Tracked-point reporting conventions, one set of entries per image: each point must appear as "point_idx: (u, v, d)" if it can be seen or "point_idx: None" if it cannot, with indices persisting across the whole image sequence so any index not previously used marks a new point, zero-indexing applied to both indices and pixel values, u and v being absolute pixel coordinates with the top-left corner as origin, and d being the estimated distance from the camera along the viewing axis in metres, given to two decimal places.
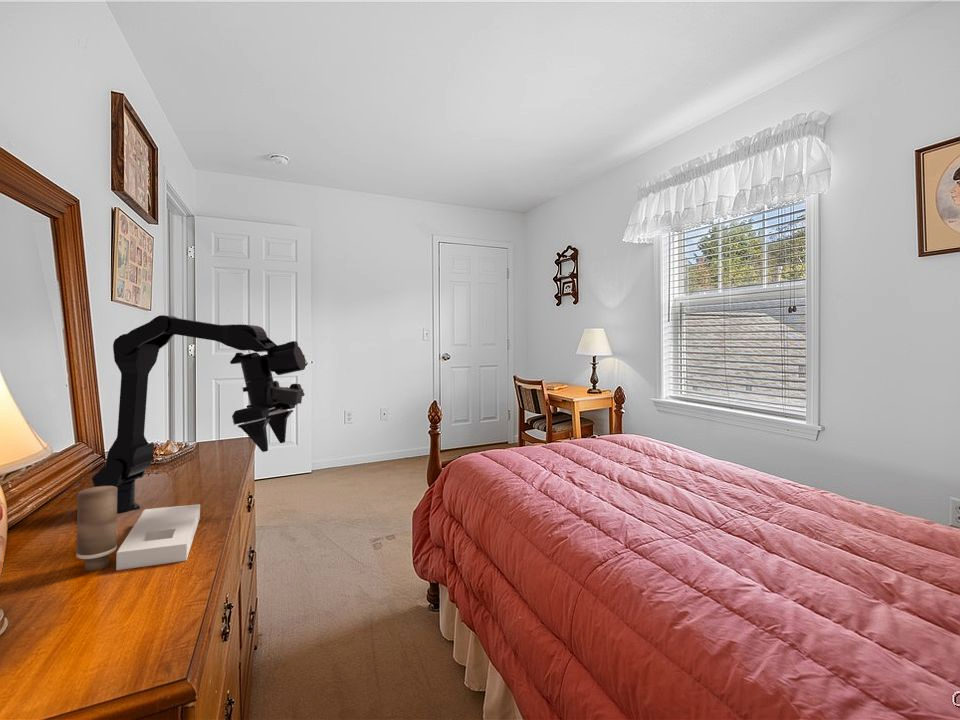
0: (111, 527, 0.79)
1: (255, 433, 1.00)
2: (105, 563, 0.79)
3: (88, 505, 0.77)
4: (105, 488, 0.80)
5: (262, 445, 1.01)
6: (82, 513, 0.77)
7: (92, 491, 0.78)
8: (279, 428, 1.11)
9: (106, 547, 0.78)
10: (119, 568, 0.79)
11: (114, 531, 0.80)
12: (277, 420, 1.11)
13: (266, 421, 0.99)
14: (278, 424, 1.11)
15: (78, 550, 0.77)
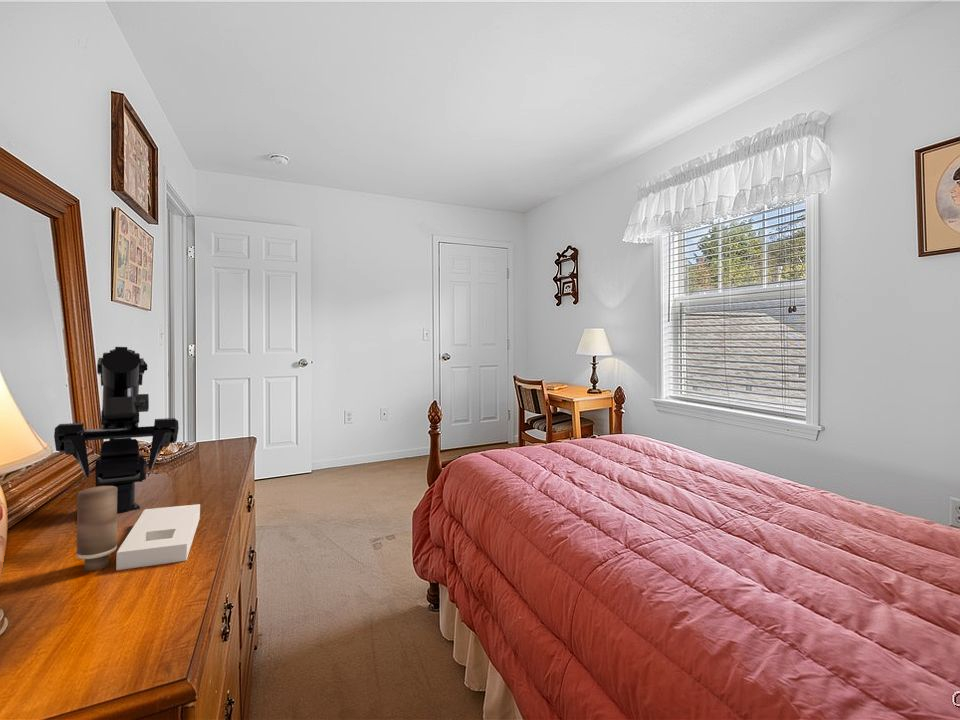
0: (111, 527, 0.79)
1: None
2: (105, 563, 0.79)
3: (88, 505, 0.77)
4: (105, 488, 0.80)
5: (83, 469, 0.84)
6: (82, 513, 0.77)
7: (92, 491, 0.78)
8: None
9: (106, 547, 0.78)
10: (119, 568, 0.79)
11: (114, 531, 0.80)
12: None
13: (74, 439, 0.84)
14: None
15: (78, 550, 0.77)
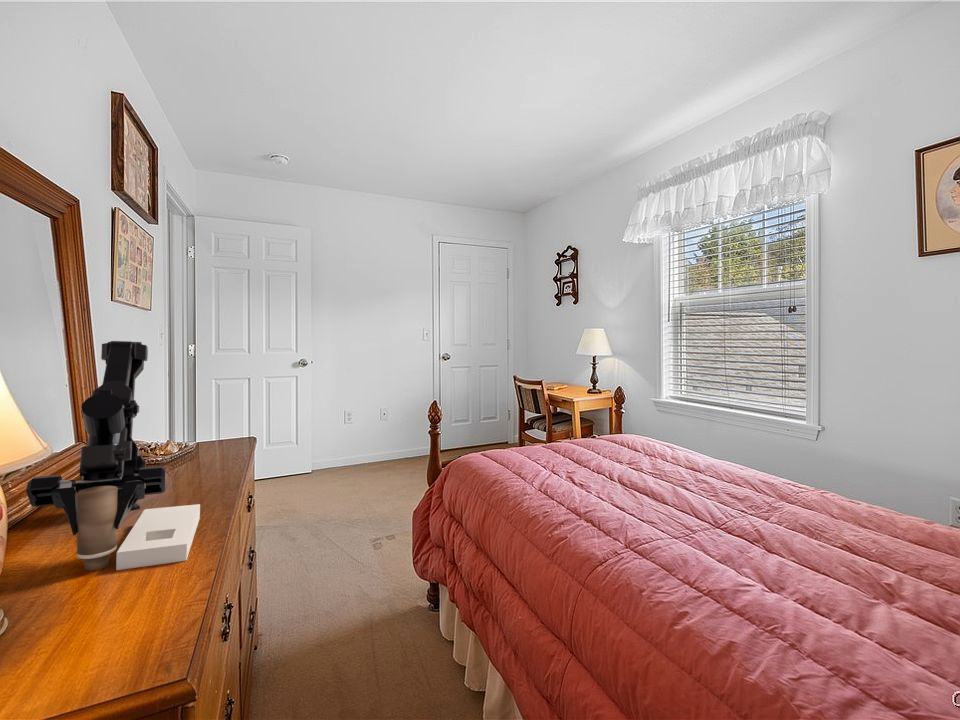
0: (111, 527, 0.79)
1: None
2: (105, 563, 0.79)
3: (88, 505, 0.77)
4: (105, 488, 0.80)
5: None
6: (82, 513, 0.77)
7: (92, 491, 0.78)
8: None
9: (106, 547, 0.78)
10: (119, 568, 0.79)
11: (114, 531, 0.80)
12: None
13: (62, 492, 0.78)
14: None
15: (78, 549, 0.77)
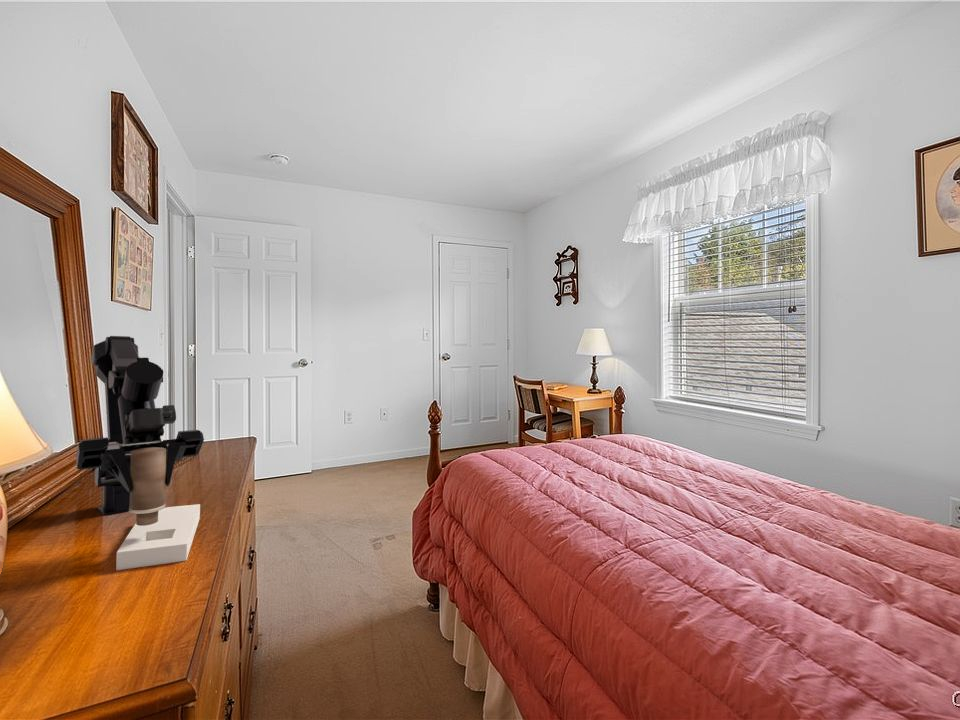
0: (163, 484, 0.84)
1: (118, 472, 0.83)
2: (157, 518, 0.85)
3: (144, 463, 0.82)
4: (153, 449, 0.85)
5: (124, 483, 0.81)
6: (139, 471, 0.81)
7: (144, 451, 0.83)
8: None
9: (160, 503, 0.84)
10: (119, 568, 0.79)
11: (164, 488, 0.85)
12: None
13: (114, 452, 0.81)
14: None
15: (133, 506, 0.82)
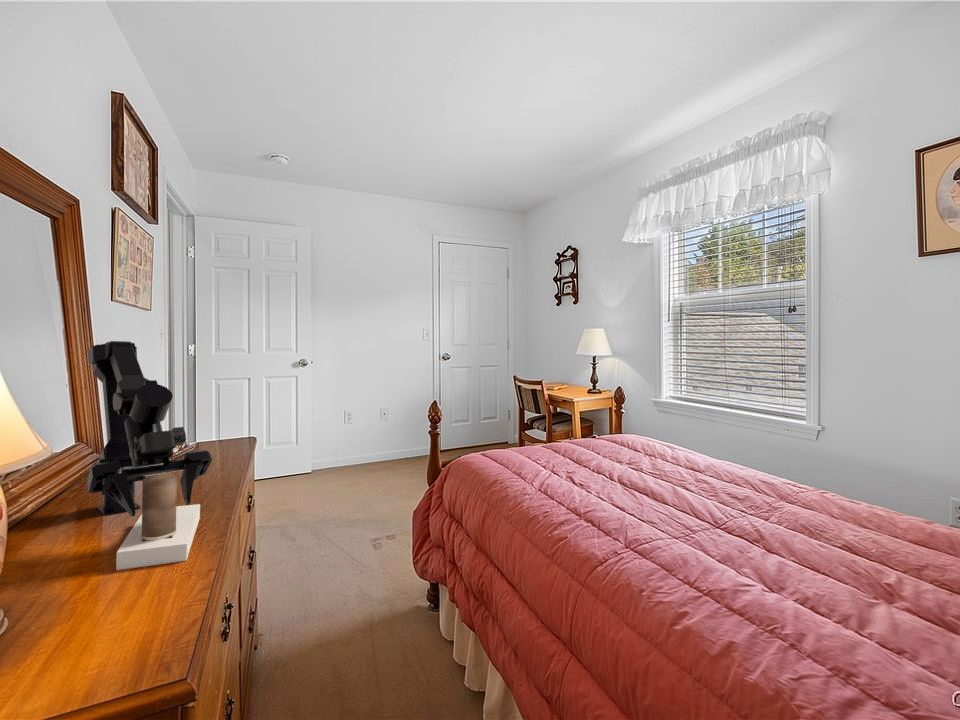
0: (175, 510, 0.86)
1: (120, 496, 0.83)
2: None
3: (157, 491, 0.83)
4: (164, 476, 0.87)
5: (127, 508, 0.82)
6: (152, 499, 0.83)
7: (156, 478, 0.85)
8: (184, 488, 0.90)
9: (172, 529, 0.86)
10: (119, 568, 0.79)
11: None
12: (183, 479, 0.91)
13: (116, 477, 0.82)
14: (184, 484, 0.90)
15: (146, 533, 0.83)
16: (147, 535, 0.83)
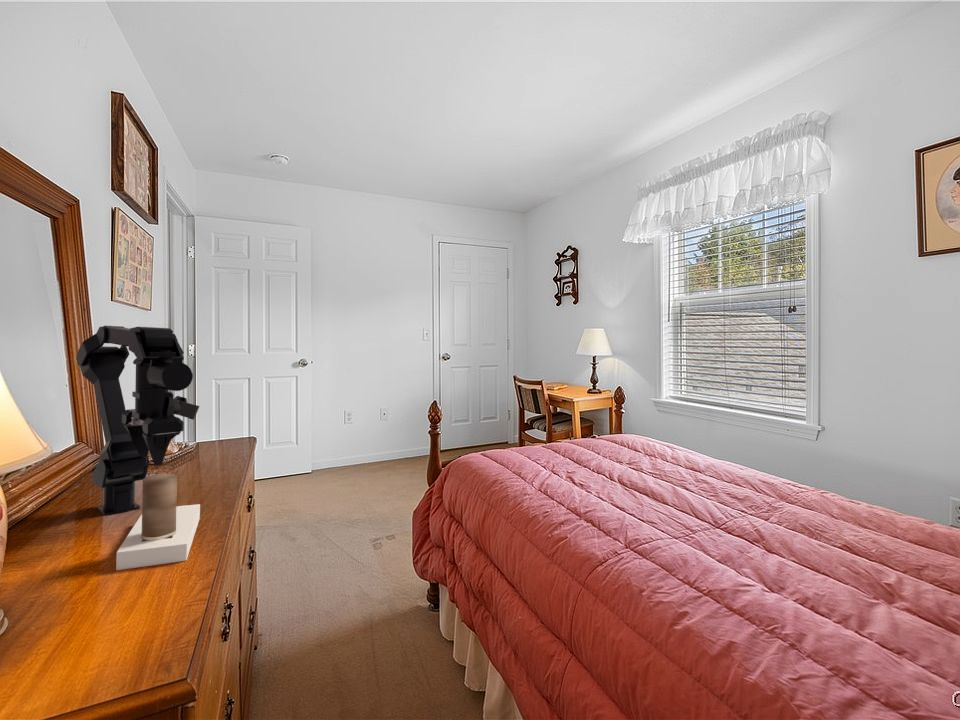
0: (175, 510, 0.86)
1: (157, 445, 0.94)
2: None
3: (157, 491, 0.83)
4: (164, 476, 0.87)
5: (159, 458, 0.95)
6: (152, 499, 0.83)
7: (156, 478, 0.85)
8: (144, 441, 1.01)
9: (172, 529, 0.86)
10: (119, 568, 0.79)
11: None
12: (143, 432, 1.01)
13: None
14: (143, 436, 1.01)
15: (146, 533, 0.83)
16: (147, 535, 0.83)
